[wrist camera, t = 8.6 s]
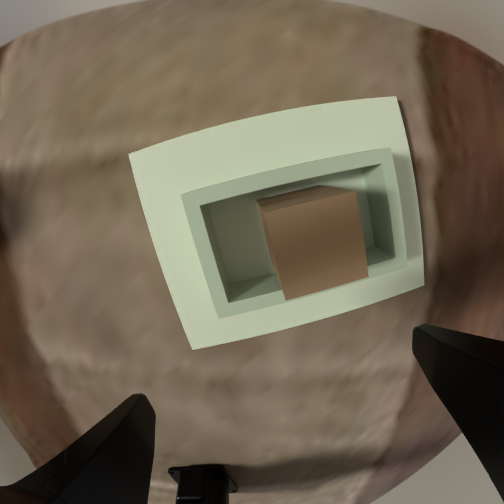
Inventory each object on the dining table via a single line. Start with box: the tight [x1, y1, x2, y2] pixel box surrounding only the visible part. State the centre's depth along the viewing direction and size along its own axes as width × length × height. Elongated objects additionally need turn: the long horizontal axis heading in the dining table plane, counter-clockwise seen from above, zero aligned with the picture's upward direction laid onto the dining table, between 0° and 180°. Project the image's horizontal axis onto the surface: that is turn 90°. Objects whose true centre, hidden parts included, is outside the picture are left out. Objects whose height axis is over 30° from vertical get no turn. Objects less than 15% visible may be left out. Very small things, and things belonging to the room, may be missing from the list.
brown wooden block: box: [256, 185, 369, 301], centre depth 15 cm, size 4×4×6 cm
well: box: [129, 96, 424, 350], centre depth 17 cm, size 14×18×4 cm
